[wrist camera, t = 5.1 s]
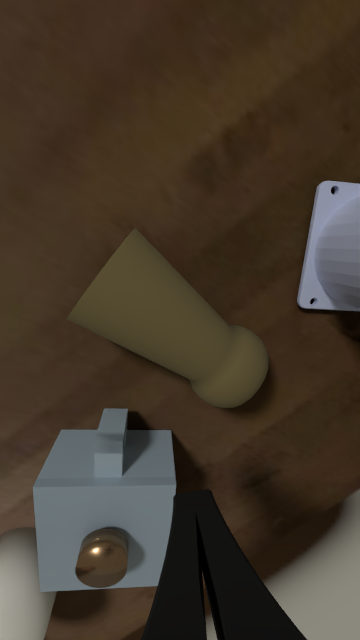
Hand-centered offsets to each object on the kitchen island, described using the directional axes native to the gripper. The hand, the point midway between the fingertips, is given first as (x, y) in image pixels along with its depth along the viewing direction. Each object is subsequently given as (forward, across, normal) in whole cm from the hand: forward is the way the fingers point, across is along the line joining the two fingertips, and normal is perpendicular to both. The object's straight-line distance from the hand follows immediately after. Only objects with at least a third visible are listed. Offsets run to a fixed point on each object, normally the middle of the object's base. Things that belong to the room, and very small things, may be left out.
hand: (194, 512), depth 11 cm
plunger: (+10, +5, +7) cm, 13 cm away
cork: (+7, +3, -9) cm, 12 cm away
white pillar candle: (+10, +14, +14) cm, 22 cm away
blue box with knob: (+10, +5, +6) cm, 13 cm away
